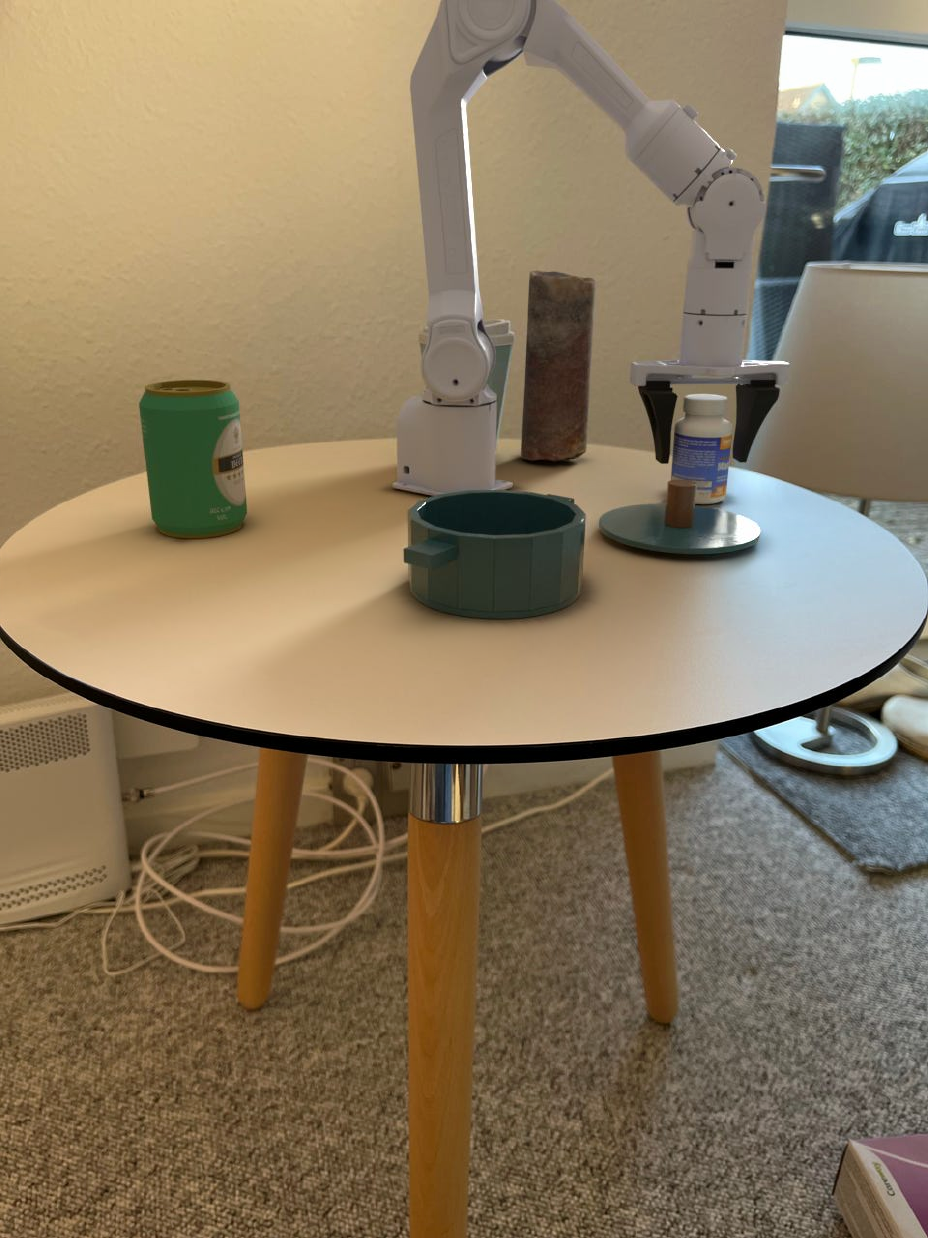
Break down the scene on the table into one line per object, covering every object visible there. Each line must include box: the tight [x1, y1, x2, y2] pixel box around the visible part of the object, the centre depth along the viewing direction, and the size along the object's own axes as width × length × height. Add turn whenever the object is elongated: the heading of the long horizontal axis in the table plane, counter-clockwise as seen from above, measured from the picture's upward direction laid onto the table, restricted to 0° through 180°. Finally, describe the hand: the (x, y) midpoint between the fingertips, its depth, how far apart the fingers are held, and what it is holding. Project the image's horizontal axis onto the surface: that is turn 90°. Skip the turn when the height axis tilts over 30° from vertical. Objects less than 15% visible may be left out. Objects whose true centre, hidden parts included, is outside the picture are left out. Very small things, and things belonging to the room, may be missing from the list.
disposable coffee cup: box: [417, 318, 517, 450], centre depth 108 cm, size 11×11×15 cm
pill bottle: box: [670, 393, 733, 505], centre depth 94 cm, size 5×5×10 cm
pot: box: [403, 489, 587, 620], centre depth 70 cm, size 12×18×6 cm
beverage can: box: [138, 379, 248, 539], centre depth 83 cm, size 8×8×12 cm
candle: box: [520, 269, 597, 462], centre depth 107 cm, size 8×7×20 cm
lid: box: [598, 479, 761, 555], centre depth 83 cm, size 13×13×5 cm
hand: (700, 460), depth 94 cm, fingers open, 7 cm apart
